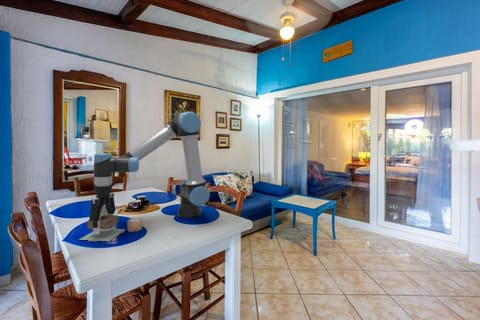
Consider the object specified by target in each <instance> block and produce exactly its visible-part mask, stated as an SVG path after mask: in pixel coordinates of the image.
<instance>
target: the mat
mask: <svg viewBox="0 0 480 320" xmlns="http://www.w3.org/2000/svg"><path fill="white" fill-rule="evenodd" d="M125 231H126V228H125V229H124V228H122V229H121V228H108V229H107V230H105V229H100V234H93V231H92V232H90V233H88V234H86V235H85V236H83V237H80V238H79V239H78V241H79V240H88V241H87V242H97V241H108V242H107V243H109V242H111V241H113V240H114V239H115V238H116V236H117V237H118V236H119V234H120V233H121V234H122V233H124V232H125ZM121 234H120V235H121ZM113 238H114V239H113ZM110 240H111V241H110Z"/></svg>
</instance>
